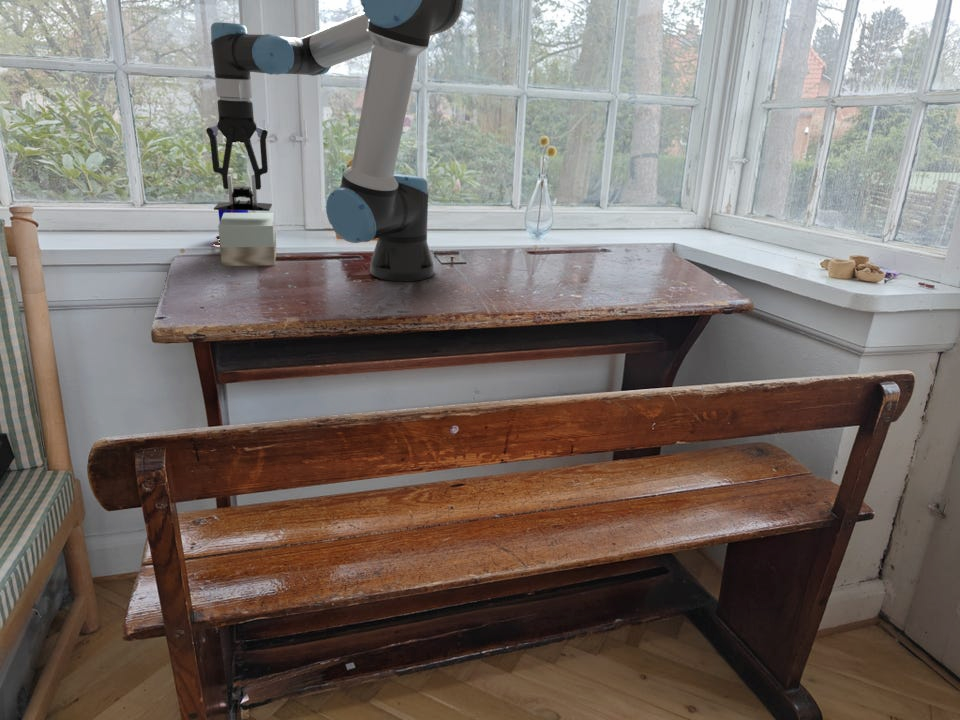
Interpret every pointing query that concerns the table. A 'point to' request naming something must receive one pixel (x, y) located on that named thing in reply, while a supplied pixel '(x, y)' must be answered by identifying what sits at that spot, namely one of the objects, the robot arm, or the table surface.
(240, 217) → the top block
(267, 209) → the build plate
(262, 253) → the base block
